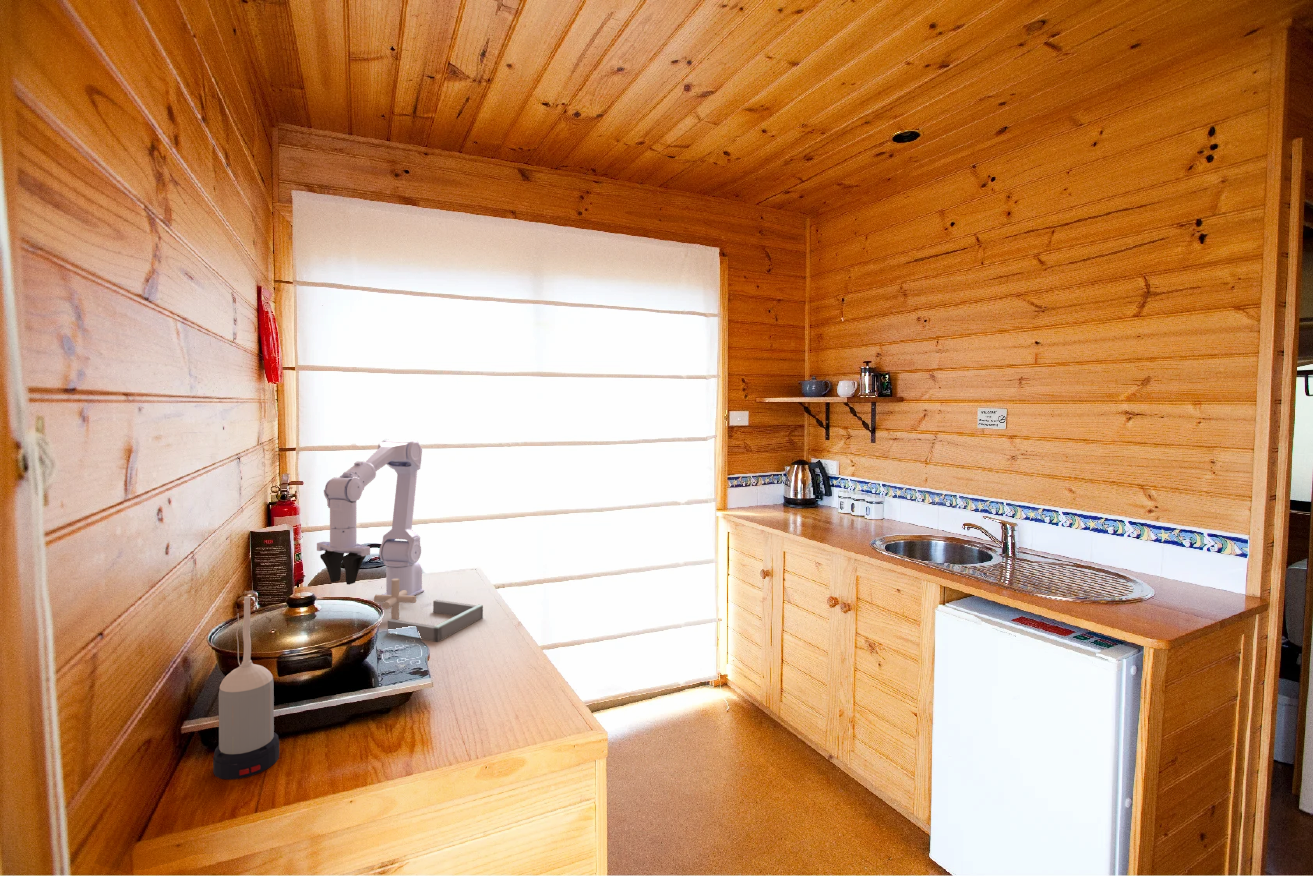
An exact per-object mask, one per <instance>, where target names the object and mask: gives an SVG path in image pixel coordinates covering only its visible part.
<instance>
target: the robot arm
mask: <svg viewBox="0 0 1313 876" xmlns="http://www.w3.org/2000/svg"><path fill="white" fill-rule="evenodd" d="M422 456H423V449H422V447H421V445H420V443H419V442H418V440H415V439H413V440H412V439H411V440H406V439H405V440H403V439H400V440H399V439H387V438H385V439H383V440H382V441H381V442H379V443H378V444H377V450H376V451H375V452H374V453H373V454H372V455H371V456H370V457H369V458H368V459H367V460H365V461H364V460H363V461H361V460H360V461H359V460H358V461H355V462H354V463H353V465H352V467H350V468H349V469H347V470H346V471H344V472H343V473H342V474H341V475H340V476H339V477H337V476H336V477H332V478H331V479H329V480H328V481H327V482H326V484H325V487H324V489H323V495H324V497H325V499H326V502H327V503H326V504H327V508H328V509H329V541H320V542H317V543H316V551H317V552H322V551H324V553H321V554H320V555H319V558H320V559H321V560H322V562H323V564H324V565H325V568H326V570H327V572H328V576H329V579H330V580H329V581H330V582H331V583H336V582H339V581H340V580H341V577H342V576H341V574H342V563H343V566H344V570H345V571H344V572H345V583H346V585H352V584H355V583H356V582H357V578H358V575H359V571H360V568H361V565H362V564H363V562H364V560H365V559H366V557H367V556H370V555H371V546H368V545H365V544H364V545H363V544H360V543H357V501H358V500H360V498H361V497H362V494H363V491H364V490H365V488H366V487H367V486H368V484H369V485H370V483H371V482H372V481H373V480H375V478H376V477H377V472H378V471H379V470H380V469H381V468H382V469H383V467H385V466H386V465H387V467H389V468H390V469H392V470H394V472H396V475H397V477H396V485H395V493H394V494H395V496H394V497H395V498H394V506H393V515H392V523H391V524H392V525H391V529H390V530H389V531H388V532H386V533H385V534H383V536H382V542H381V544H380V546H379V549H378V550H379V551H378V554H379V555H378V556H379V558H380V560H381V561H382V562H383V566H386V568H385V569H386V570H385V571H386V575H385V576H386V578H385V579H386V580H385V581H386V582H385V583H386V584H385V586H386V587H385V590H386V591H385V592H384V593H381V594H380V595H391V588H392V579H396V578H397V579H399V592H400V591H402V590H406V591H407V595H408V596H417V595H419V594H421V593H423V592H424V591H425V589H424V588H423V569H422V566H421V564H420V563H419V562H418V561H419V559H420V558H421V555H422V546H421V537H420V536H419V535H418V533H416V532H415V531H414V530H413V519H414V509H415V508H414V507H415V500H416V499H415V498H416V497H415V496H416V488H417V477H418V471H419V470H421V466H422V465H421V464H422ZM345 554H346V555H345ZM347 554H348V555H347Z"/></svg>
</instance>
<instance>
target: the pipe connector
mask: <svg viewBox="0 0 1313 876" xmlns="http://www.w3.org/2000/svg"><path fill="white" fill-rule="evenodd" d="M373 601H374V603H375V602H376V603H382V608H383V609H385V610H388V609H390V608H391V611H390V612H391V614H390V615H391V616H390V617H391V619H394V620H399V619H400V604H401V603H402V604H416V602H417V595H413V596H408V595H407V591H406V590H402V591H400V592H399V579H397V578H396V579H392V588H391V595H381V594H375V595H374V597H373ZM391 619H390V620H391Z"/></svg>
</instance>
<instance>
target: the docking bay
mask: <svg viewBox="0 0 1313 876" xmlns="http://www.w3.org/2000/svg"><path fill="white" fill-rule="evenodd" d="M432 603H433V605H432V606H433V607H432V612H433V613H435V614H436V613H437V614H443V615H449V616H452V617H451V618H449V619H447V620H445V621H443V622H441V623H439V624H437V625H431V624H425V623H424V624H423V623H418V622H412V621H406V620H399V619H397V620H394V619H388V620H387V630H388V629H396V628H402V627H408V626H416V627H417V629H418V631H419V633H420V636H421V638H422V639H421V640H425V641H430V642H431V641H432V642H437V643H438V642H440V641H443V640H444V639H446V638H448V637H450V636H452V635H453V634H455V633H457V632H459V631H460V630H462V629H464V628H467V627H468V626H470V625H472V624H474V623H476V622H478V621H480V620H481V619H483V618H484V613H483V612H484V605H483V604H470V603H465V602H464V603H463V602H458V601H457V602H454V601H449V600H441V599H435V600H433V602H432Z"/></svg>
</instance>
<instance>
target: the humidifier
mask: <svg viewBox="0 0 1313 876" xmlns="http://www.w3.org/2000/svg"><path fill="white" fill-rule="evenodd" d="M237 624H238V625H237V630H236V640H237V663H238V665H239V666H238V667H236V668H234V669H233V670H231V671H230V672H229V673H228V674H227V675H226V676H225V677H224V678H223V679H222V680H221V683H220V685H219V691H218V746H216V748H215V749H214V753H213V758H212V764H213V765H212V767H213V769H212V770H213V775H214V776H215V777H217V779H221V780H230V781H231V780H240V779H243V778H248V777H251V776H254V775H256V774H257V775H258V774H259V773H262V772H265V771H266V770H268V769H269V768H271V767H273V766H274V765H275V764H277V762H278V760H279V759H280V740H279V735H278V734H277V733H276V732H274V731H275V725H274V723H275V722H274V721H275V716H274V715H275V712H274V711H275V710H274V708H275V705H274V704H275V703H274V702H275V696H274V690H275V689H274V681H275V680H274V675H273V674H272V673H271V671H270V670H269V669H268V668H266V667H264V666H263V665H260V664H255V663H253V661H252V659H251V655H252V641H251V640H252V639H251V631H250V629H251V597H250V596H244V597H243V624H242V625H243V626H242V640H243V657H242V661H241V663H240V651H239V650H240V649H239V648H240V647H239V637H238V631H239V627H240V618H239V614H237Z"/></svg>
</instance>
